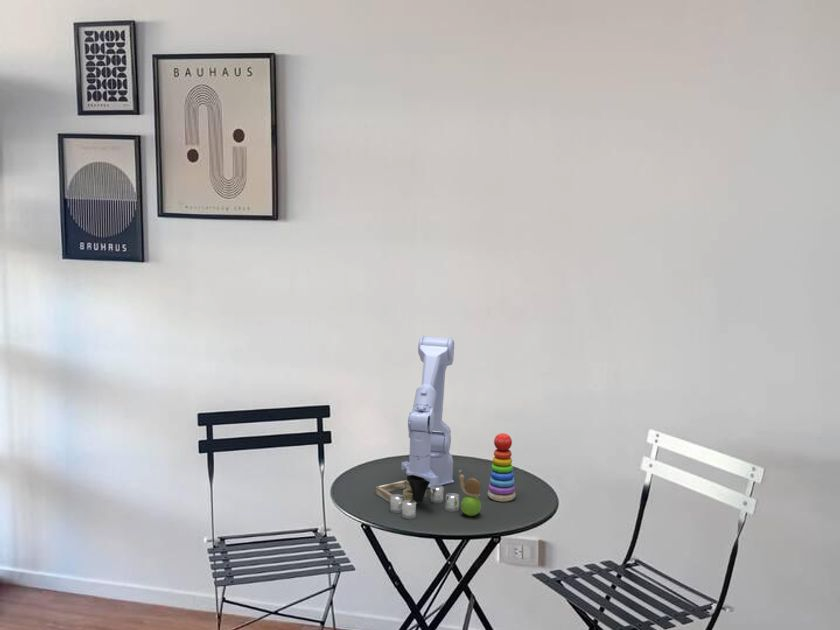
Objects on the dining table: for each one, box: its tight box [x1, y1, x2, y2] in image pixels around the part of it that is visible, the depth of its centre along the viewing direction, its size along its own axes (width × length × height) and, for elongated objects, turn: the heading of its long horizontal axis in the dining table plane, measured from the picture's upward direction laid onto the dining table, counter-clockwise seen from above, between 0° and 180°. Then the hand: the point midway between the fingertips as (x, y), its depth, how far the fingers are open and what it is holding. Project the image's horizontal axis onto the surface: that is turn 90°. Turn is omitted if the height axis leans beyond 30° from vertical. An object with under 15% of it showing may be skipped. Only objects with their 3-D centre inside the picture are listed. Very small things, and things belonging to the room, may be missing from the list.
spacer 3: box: [429, 485, 445, 504], centre depth 226 cm, size 4×4×4 cm
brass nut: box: [402, 488, 420, 505], centre depth 225 cm, size 5×4×3 cm
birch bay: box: [374, 479, 428, 503], centre depth 229 cm, size 11×10×2 cm
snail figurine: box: [458, 469, 482, 517], centre depth 216 cm, size 5×6×12 cm
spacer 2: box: [401, 500, 417, 520], centre depth 215 cm, size 4×4×4 cm
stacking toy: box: [487, 432, 517, 502], centre depth 229 cm, size 8×8×19 cm
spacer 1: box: [389, 493, 404, 514], centre depth 218 cm, size 4×4×4 cm
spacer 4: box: [445, 492, 460, 513], centre depth 221 cm, size 4×4×4 cm
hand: (418, 501), depth 222 cm, fingers closed
